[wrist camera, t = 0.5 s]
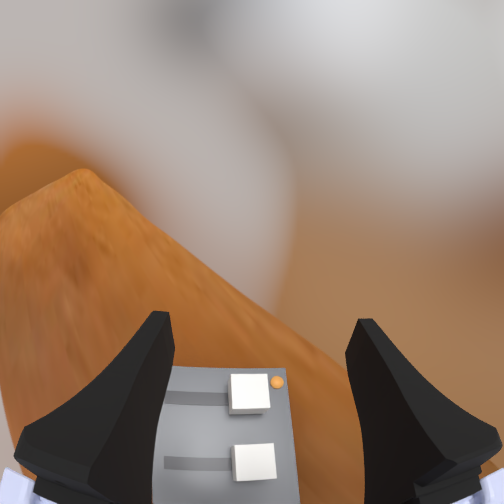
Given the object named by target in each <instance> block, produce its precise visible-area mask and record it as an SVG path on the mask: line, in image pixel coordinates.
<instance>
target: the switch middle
mask: <svg viewBox="0 0 504 504" xmlns="http://www.w3.org/2000/svg"><path fill="white" fill-rule="evenodd" d="M231 458H232V474H233V481H251V480H265V479H275V478H277V474H276V463H275V452H274V443H267V444H249V445H234V446H232V447H231Z"/></svg>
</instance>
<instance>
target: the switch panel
mask: <svg viewBox="0 0 504 504" xmlns="http://www.w3.org/2000/svg"><path fill="white" fill-rule="evenodd" d="M231 374H267V377H268V388H269V399H270V409H269V410H267V411H266V412H265V413H264V414H229V401H228V380H229V378H230V375H231ZM267 443H274V452H275V463H276V474H277V478H275V479H265V480H251V481H233V474H232V458H231V447H232V446H234V445H249V444H267ZM152 493H153V504H300V497H299V487H298V477H297V467H296V458H295V448H294V439H293V430H292V421H291V413H290V404H289V395H288V387H287V379H286V370H285V368H199V367H180V366H172V371H171V375H170V379H169V383H168V386H167V390H166V394H165V398H164V402H163V405H162V409H161V413H160V417H159V422H158V427H157V434H156V442H155V450H154V461H153V474H152Z"/></svg>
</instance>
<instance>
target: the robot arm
mask: <svg viewBox="0 0 504 504" xmlns="http://www.w3.org/2000/svg"><path fill="white" fill-rule="evenodd" d="M174 351H175V345H174V339H173V333H172V327H171V321H170V315H169V312H163V311H153V312H151V314H150V315H149V316H148V318H147V319H146V320H145V322H144V323H143V324H142V326H141V327H140V328H139V330H138V331H137V332H136V333H135V335H134V336H133V337H132V338H131V340H130V341H129V342H128V343H127V345H126V346H125V347H124V348H123V349H122V351H121V352H120V353H119V354H118V355H117V356H116V357H115V358H114V359H113V361H112V362H111V363H110V364H109V365H108V366H107V367H106V368H105V369H104V370H103V371H102V372H101V373H100V374H99V375H98V376H97V377H96V378H95V379H94V380H93V381H92V382H90V383H89V384H88V385H87V386H86V387H85V388H83V389H82V390H81V391H80V392H79V393H78V394H76V395H75V396H74V397H72V398H71V399H70V400H68V401H67V402H66V403H64V404H63V405H61V406H60V407H58V408H57V409H55V410H54V411H52V412H51V413H49V414H48V415H46V416H44V417H42V418H40V419H39V420H37V421H35V422H33V423H31V424H29V425H27V426H25V427H24V429H23V431H22V433H21V436H20V438H19V441H18V444H17V447H16V450H15V453H14V458H15V459H16V461H17V462H19V463H20V464H21V465H23V466H24V467H25V468H27V469H28V470H29V471H31V472H32V473H34V474H35V475H37V478H36V482H35V481H34V480H32V479H30V478H28V477H26V476H24V475H22V474H20V473H18V472H16V471H14V470H12V469H10V468H8V467H6V468H5V471H4V473H3V477H2V480H1V483H0V504H151V497H152V474H153V461H154V450H155V442H156V434H157V427H158V422H159V417H160V413H161V409H162V405H163V402H164V398H165V394H166V390H167V386H168V383H169V379H170V375H171V371H172V365H173V358H174ZM345 356H346V364H347V371H348V377H349V381H350V385H351V389H352V393H353V397H354V401H355V405H356V409H357V413H358V417H359V421H360V426H361V432H362V441H363V451H364V466H365V497H364V504H504V468H501V469H499V470H498V471H496V472H494V473H492V474H490V475H488V476H486V477H484V478H482V479H480V480H479V476H478V475H479V474H480V473H481V472H482V470H481V467H480V465H482V464H483V463H484V462H486V461H487V460H489V459H490V458H491V457H493V456H494V455H495V454H496V453H498V452H499V451H500V450H501V448H502V442H501V440H500V437H499V434H498V432H497V430H496V428H495V427H493V426H491V425H489V424H487V423H485V422H483V421H481V420H479V419H478V418H476V417H474V416H472V415H471V414H469V413H468V412H466V411H465V410H463V409H462V408H460V407H459V406H457V405H456V404H455V403H453V402H452V401H451V400H449V399H448V398H447V397H445V396H444V395H443V394H442V393H441V392H439V391H438V390H437V389H436V388H435V387H434V386H433V385H431V384H430V383H429V382H428V381H427V380H426V379H425V378H424V377H423V376H422V375H421V374H420V373H419V372H418V371H417V370H416V369H415V368H414V367H413V366H412V365H411V363H410V362H409V361H408V360H407V359H406V358H405V357H404V356H403V354H402V353H401V352H400V351H399V350H398V349H397V348H396V346H395V345H394V344H393V343H392V341H391V340H390V339H389V338H388V337H387V335H386V334H385V333H384V332H383V331H382V329H381V328H380V327H379V326H378V325H377V323H376V322H375V321H374V320H373V319H358V321H357V323H356V326H355V329H354V331H353V334H352V337H351V339H350V342H349V344H348V347H347V349H346V352H345Z"/></svg>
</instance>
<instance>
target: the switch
mask: <svg viewBox="0 0 504 504" xmlns="http://www.w3.org/2000/svg"><path fill="white" fill-rule="evenodd" d="M228 401H229V414H264V413H265V412H266V411H267V410H269V409H270V399H269V388H268V377H267V374H231V375H230V378H229V380H228Z"/></svg>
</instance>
